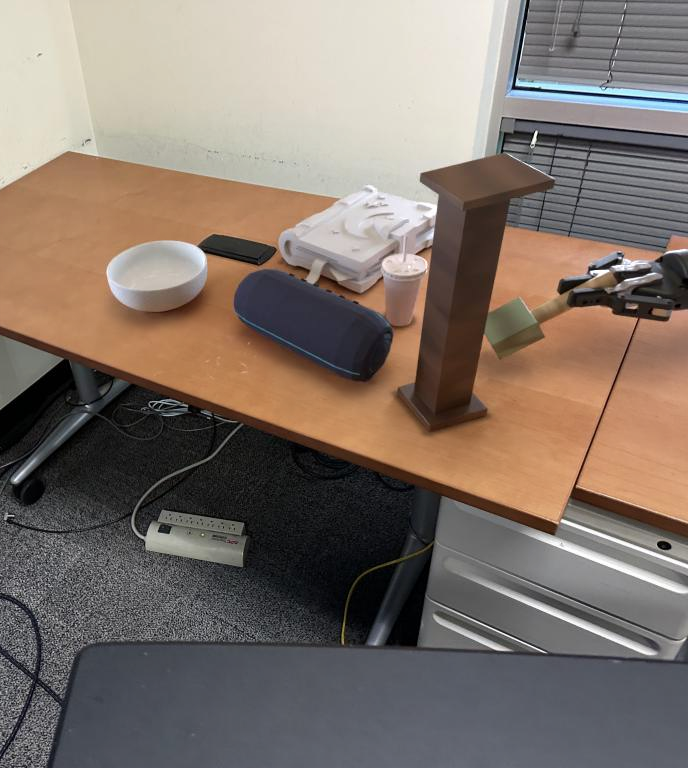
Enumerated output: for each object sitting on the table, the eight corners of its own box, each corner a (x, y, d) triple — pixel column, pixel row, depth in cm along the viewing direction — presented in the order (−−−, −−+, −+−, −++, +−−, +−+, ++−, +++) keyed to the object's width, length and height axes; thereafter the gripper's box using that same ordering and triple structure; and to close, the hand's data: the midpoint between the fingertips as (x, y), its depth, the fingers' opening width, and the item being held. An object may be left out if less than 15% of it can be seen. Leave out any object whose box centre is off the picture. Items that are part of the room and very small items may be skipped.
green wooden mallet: (603, 271, 88) (596, 255, 87) (627, 296, 84) (620, 280, 82) (484, 333, 95) (475, 319, 93) (499, 360, 90) (491, 345, 88)
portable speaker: (404, 368, 96) (410, 308, 89) (358, 403, 91) (362, 343, 85) (272, 305, 112) (270, 251, 105) (228, 333, 107) (223, 278, 101)
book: (257, 272, 120) (255, 233, 115) (358, 212, 132) (360, 174, 128) (345, 311, 108) (347, 269, 103) (448, 241, 120) (453, 200, 115)
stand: (464, 374, 93) (505, 152, 74) (500, 411, 87) (555, 179, 67) (396, 393, 92) (420, 172, 72) (429, 432, 86) (464, 202, 66)
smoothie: (417, 306, 107) (426, 224, 98) (424, 330, 102) (435, 246, 93) (374, 308, 108) (380, 227, 99) (379, 332, 103) (386, 249, 94)
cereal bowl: (230, 290, 117) (227, 254, 112) (163, 339, 108) (157, 301, 104) (160, 264, 127) (154, 230, 122) (93, 307, 118) (85, 271, 114)
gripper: (731, 333, 83) (581, 349, 84) (667, 274, 93) (535, 289, 95) (756, 280, 78) (597, 297, 79) (686, 224, 88) (547, 240, 90)
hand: (564, 292), depth 87 cm, fingers closed on green wooden mallet, 2 cm apart
